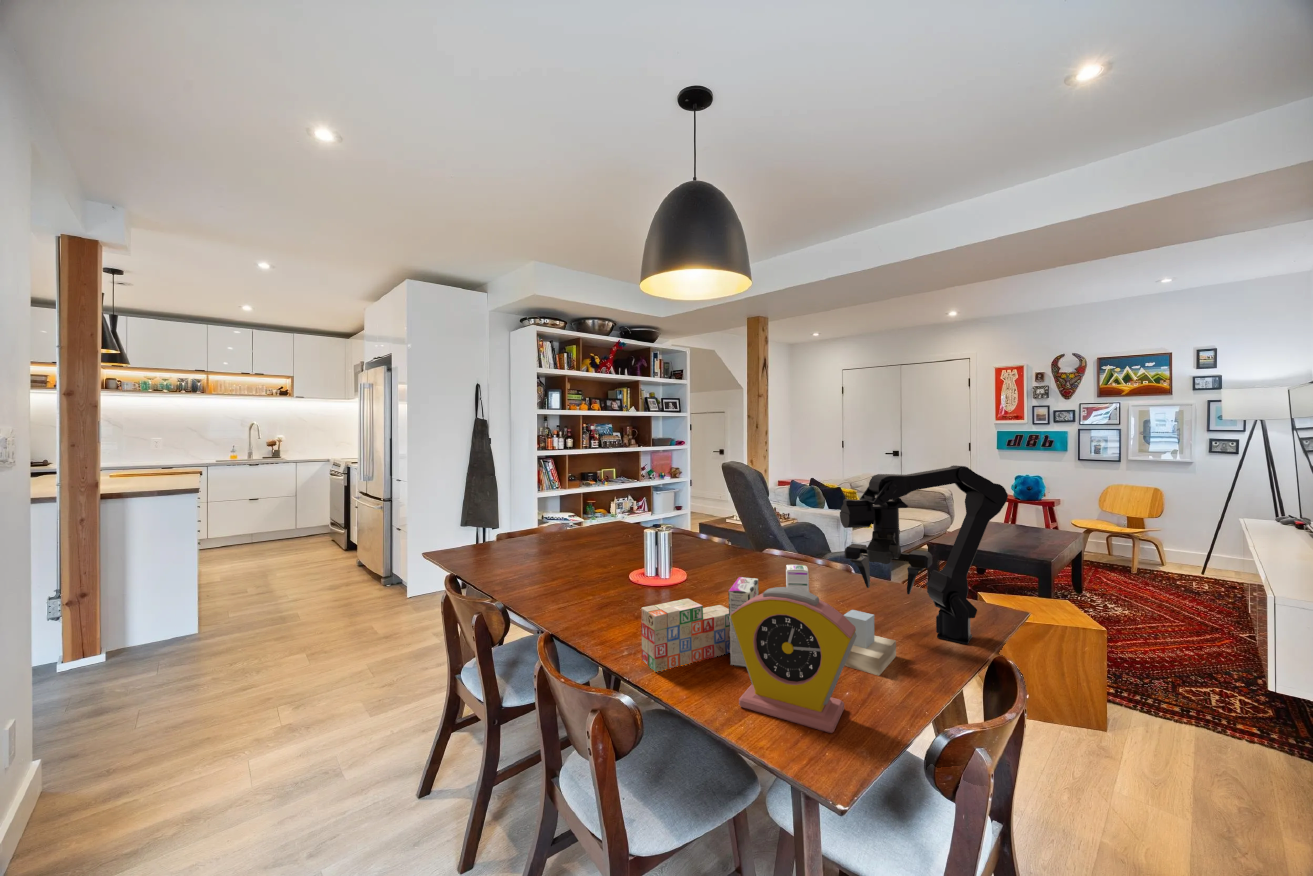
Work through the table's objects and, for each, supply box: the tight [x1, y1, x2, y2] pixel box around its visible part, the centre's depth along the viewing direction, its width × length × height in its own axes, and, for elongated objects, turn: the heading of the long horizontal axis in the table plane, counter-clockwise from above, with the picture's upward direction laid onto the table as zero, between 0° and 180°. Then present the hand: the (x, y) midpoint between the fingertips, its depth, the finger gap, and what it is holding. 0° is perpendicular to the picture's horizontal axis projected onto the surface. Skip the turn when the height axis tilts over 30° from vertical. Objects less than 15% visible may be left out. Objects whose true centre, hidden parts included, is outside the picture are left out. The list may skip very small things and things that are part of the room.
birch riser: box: [844, 634, 897, 677], centre depth 112 cm, size 12×12×4 cm
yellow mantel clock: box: [730, 586, 857, 734], centre depth 91 cm, size 22×9×22 cm, turn 58°
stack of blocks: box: [640, 598, 730, 673], centre depth 113 cm, size 21×6×12 cm, turn 119°
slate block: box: [843, 609, 875, 649], centre depth 112 cm, size 5×5×6 cm
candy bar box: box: [728, 576, 760, 668], centre depth 113 cm, size 11×5×16 cm, turn 159°
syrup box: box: [785, 564, 810, 592], centre depth 134 cm, size 6×6×14 cm
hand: (887, 590), depth 122 cm, fingers open, 9 cm apart
